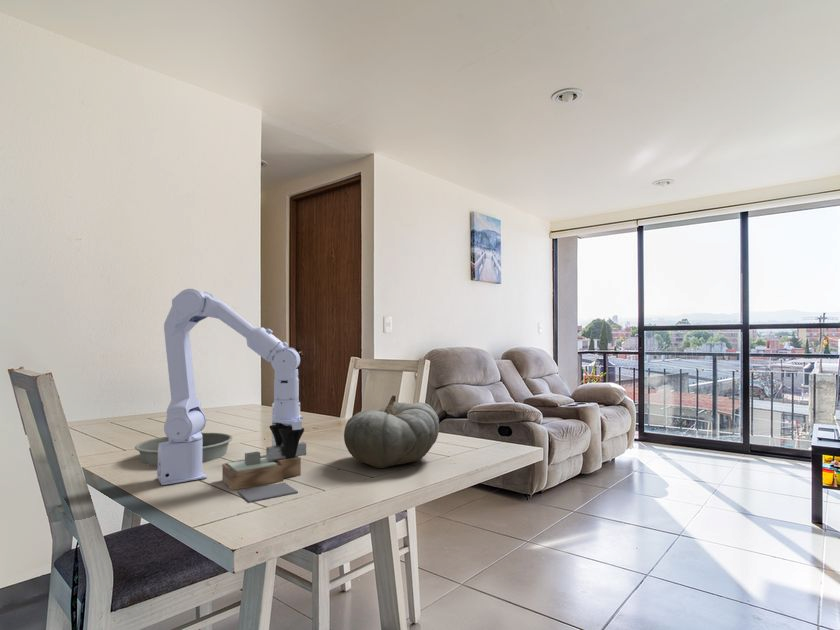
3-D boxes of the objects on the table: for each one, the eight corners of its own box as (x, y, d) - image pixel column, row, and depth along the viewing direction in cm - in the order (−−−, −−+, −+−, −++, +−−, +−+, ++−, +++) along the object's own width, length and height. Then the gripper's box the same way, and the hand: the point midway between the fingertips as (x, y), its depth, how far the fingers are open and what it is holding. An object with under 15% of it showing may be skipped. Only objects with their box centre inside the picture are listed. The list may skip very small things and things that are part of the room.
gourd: (463, 449, 129) (450, 384, 129) (397, 487, 111) (381, 411, 111) (397, 446, 146) (385, 388, 146) (330, 478, 128) (317, 413, 128)
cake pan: (210, 443, 155) (210, 429, 155) (248, 455, 138) (248, 439, 138) (122, 458, 137) (122, 441, 138) (153, 474, 120) (153, 455, 121)
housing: (233, 490, 106) (233, 471, 106) (222, 479, 114) (222, 461, 114) (304, 477, 115) (304, 459, 115) (289, 468, 123) (289, 451, 123)
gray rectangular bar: (269, 460, 114) (269, 446, 114) (266, 459, 116) (266, 444, 116) (306, 455, 119) (306, 440, 120) (303, 453, 121) (303, 439, 121)
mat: (249, 502, 98) (249, 500, 98) (238, 492, 104) (238, 490, 104) (297, 492, 103) (297, 491, 103) (284, 483, 110) (284, 482, 110)
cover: (236, 474, 107) (236, 459, 107) (227, 466, 114) (227, 452, 114) (277, 467, 112) (277, 453, 112) (266, 460, 119) (266, 447, 119)
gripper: (314, 400, 115) (314, 459, 114) (291, 394, 126) (291, 448, 126) (284, 402, 111) (284, 464, 110) (264, 396, 122) (264, 452, 122)
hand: (286, 456), depth 118 cm, fingers open, 4 cm apart
